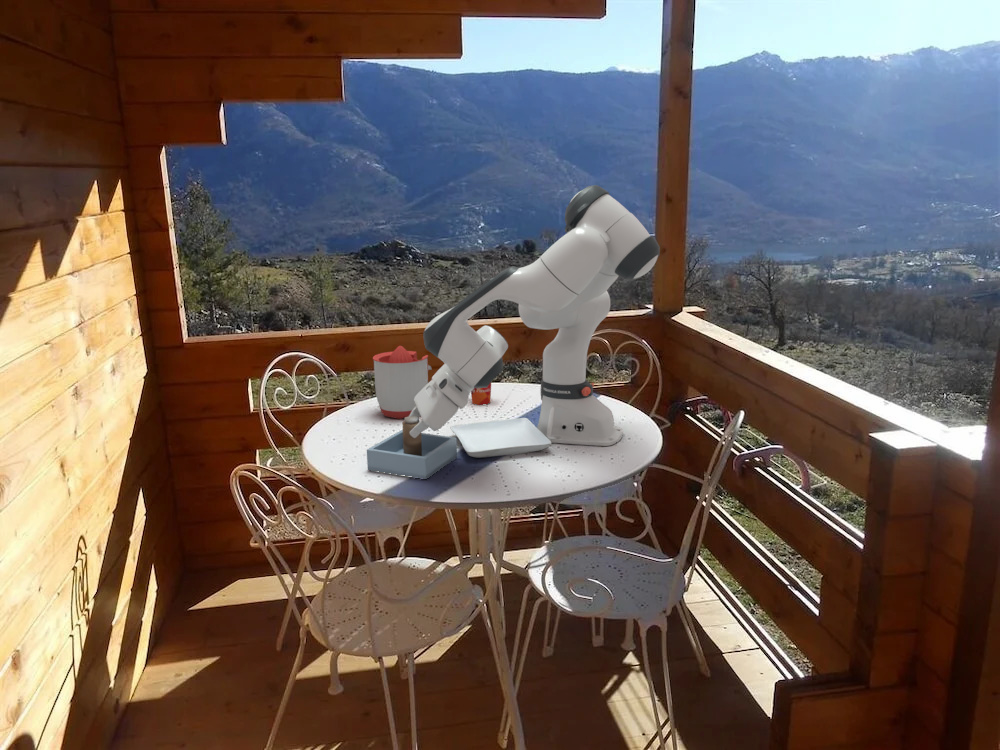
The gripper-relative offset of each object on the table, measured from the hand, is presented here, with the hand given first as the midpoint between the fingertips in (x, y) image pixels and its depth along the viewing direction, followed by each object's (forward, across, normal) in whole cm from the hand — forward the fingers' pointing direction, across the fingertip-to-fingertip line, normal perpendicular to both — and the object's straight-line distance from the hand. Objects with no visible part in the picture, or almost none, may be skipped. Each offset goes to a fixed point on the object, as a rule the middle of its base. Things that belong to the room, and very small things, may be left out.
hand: (409, 429), depth 155 cm
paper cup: (-13, -46, +25) cm, 54 cm away
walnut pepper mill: (+5, 0, +6) cm, 7 cm away
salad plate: (-10, -8, +23) cm, 26 cm away
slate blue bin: (+6, 0, +6) cm, 8 cm away
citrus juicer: (+4, -42, +9) cm, 43 cm away
